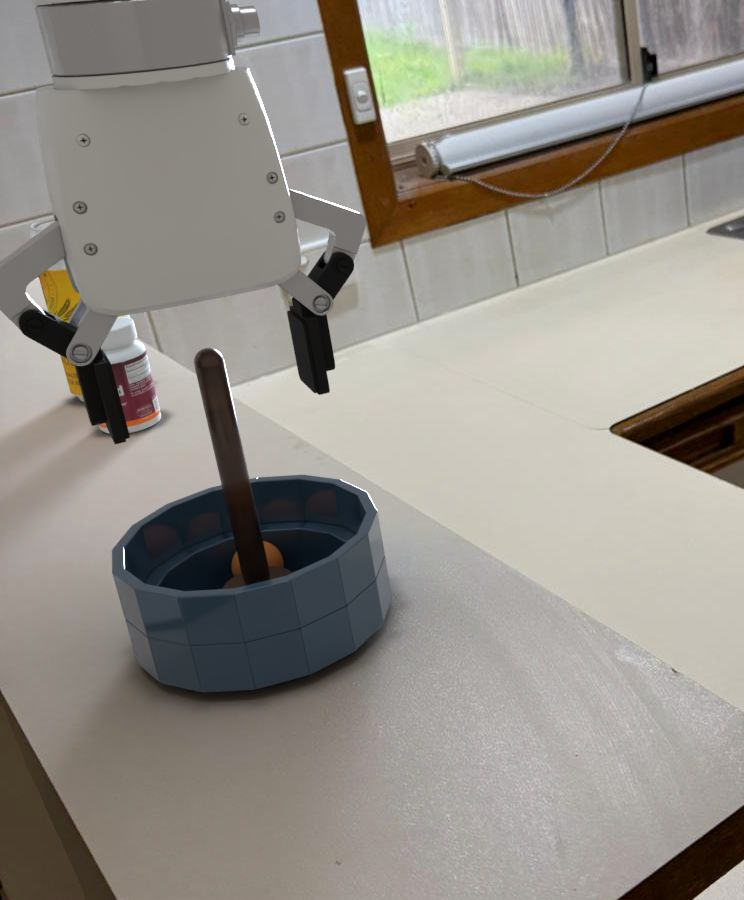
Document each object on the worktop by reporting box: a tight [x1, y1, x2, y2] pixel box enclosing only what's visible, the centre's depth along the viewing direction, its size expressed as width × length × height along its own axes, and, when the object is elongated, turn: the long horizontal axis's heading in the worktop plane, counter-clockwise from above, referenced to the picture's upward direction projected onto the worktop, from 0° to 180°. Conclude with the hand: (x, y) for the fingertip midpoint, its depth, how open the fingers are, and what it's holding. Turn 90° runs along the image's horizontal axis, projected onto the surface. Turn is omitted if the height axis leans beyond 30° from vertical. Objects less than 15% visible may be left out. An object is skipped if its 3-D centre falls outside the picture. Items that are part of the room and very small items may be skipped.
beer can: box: [28, 216, 131, 403], centre depth 96 cm, size 6×6×15 cm
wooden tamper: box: [193, 347, 292, 589], centre depth 58 cm, size 4×4×15 cm
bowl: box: [111, 474, 393, 693], centre depth 60 cm, size 13×13×6 cm
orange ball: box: [232, 541, 284, 576], centre depth 64 cm, size 3×3×3 cm
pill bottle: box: [98, 317, 162, 435], centre depth 90 cm, size 5×5×8 cm
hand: (220, 409), depth 56 cm, fingers open, 9 cm apart
